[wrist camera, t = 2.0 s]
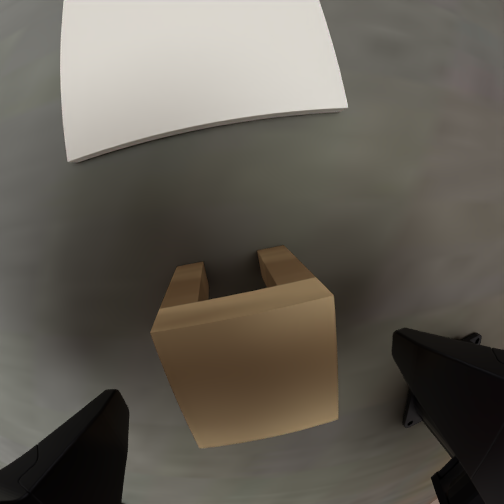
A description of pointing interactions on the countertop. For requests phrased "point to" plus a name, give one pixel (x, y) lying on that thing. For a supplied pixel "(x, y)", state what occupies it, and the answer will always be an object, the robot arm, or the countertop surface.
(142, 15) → the board
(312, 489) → the countertop surface
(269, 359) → the mini stool
